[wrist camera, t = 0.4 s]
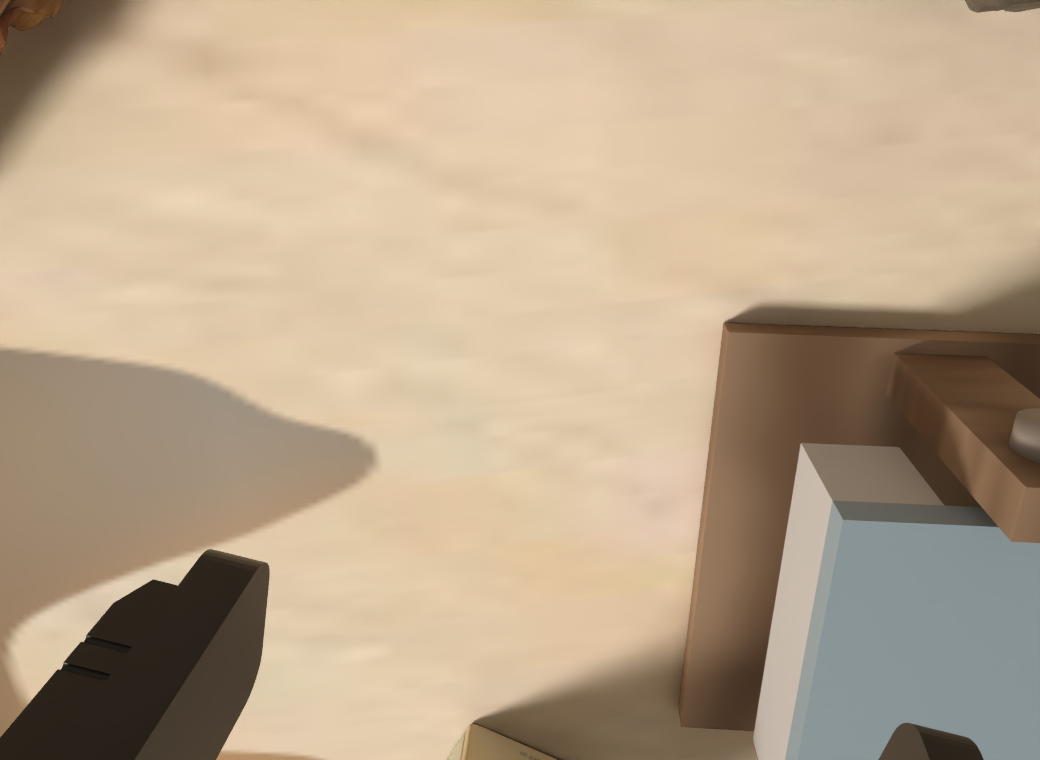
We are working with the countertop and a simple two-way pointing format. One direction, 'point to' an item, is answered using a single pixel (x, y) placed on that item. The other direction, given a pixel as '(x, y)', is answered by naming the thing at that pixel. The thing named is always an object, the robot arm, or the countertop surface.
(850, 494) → the trapdoor flap
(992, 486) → the frame
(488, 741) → the skincare box
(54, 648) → the countertop surface
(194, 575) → the robot arm
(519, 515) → the countertop surface
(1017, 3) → the grey brown flat block
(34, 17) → the bird sculpture
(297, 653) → the countertop surface
